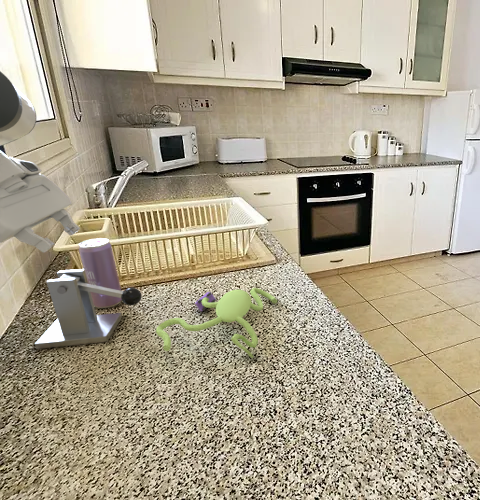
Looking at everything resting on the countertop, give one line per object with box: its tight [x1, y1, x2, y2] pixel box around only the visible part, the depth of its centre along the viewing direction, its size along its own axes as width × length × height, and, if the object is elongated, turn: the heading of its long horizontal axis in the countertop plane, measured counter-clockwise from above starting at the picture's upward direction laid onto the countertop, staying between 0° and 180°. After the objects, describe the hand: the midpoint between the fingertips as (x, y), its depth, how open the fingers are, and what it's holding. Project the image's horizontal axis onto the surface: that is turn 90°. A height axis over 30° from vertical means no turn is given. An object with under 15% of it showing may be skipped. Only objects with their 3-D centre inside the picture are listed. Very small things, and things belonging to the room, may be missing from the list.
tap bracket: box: [34, 268, 123, 350], centre depth 73 cm, size 12×9×13 cm
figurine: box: [155, 287, 278, 359], centre depth 78 cm, size 18×27×6 cm
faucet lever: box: [58, 274, 142, 306], centre depth 73 cm, size 14×4×4 cm, turn 104°
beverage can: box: [78, 237, 122, 309], centre depth 84 cm, size 6×6×15 cm
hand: (63, 240), depth 69 cm, fingers open, 8 cm apart
